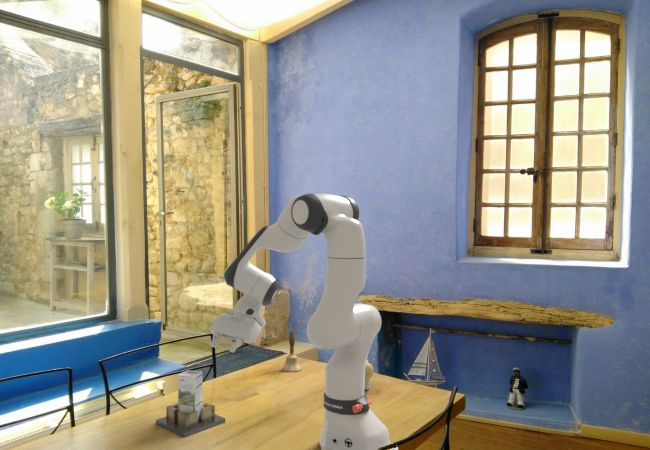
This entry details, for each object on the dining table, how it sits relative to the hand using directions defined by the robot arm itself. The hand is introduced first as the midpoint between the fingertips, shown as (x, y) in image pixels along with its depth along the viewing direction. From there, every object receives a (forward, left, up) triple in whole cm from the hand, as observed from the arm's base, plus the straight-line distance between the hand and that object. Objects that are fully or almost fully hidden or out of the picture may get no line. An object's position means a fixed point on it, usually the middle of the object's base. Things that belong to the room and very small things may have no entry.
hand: (221, 348), depth 173 cm
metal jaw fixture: (0, +12, -21) cm, 24 cm away
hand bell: (+17, -50, -21) cm, 57 cm away
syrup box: (0, +12, -20) cm, 23 cm away
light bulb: (-21, -50, -21) cm, 58 cm away
